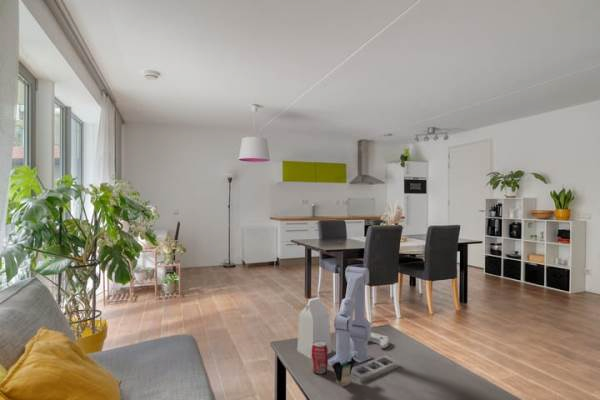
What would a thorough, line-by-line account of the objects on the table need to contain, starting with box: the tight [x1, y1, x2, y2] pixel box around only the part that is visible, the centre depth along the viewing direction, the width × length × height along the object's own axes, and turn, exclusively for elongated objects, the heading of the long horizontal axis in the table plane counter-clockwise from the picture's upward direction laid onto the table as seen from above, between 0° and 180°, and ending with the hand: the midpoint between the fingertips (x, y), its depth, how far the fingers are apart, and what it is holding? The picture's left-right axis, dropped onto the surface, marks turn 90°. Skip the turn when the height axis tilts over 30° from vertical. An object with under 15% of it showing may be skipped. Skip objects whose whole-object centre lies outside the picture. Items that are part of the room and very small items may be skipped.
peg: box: [335, 361, 351, 388], centre depth 139 cm, size 4×4×8 cm
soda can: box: [310, 341, 329, 375], centre depth 149 cm, size 7×7×12 cm
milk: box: [296, 297, 332, 360], centre depth 167 cm, size 12×12×26 cm
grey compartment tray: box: [350, 354, 400, 384], centre depth 149 cm, size 8×24×2 cm, turn 124°
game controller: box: [367, 331, 390, 349], centre depth 177 cm, size 14×4×10 cm
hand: (343, 378), depth 139 cm, fingers closed on peg, 4 cm apart
